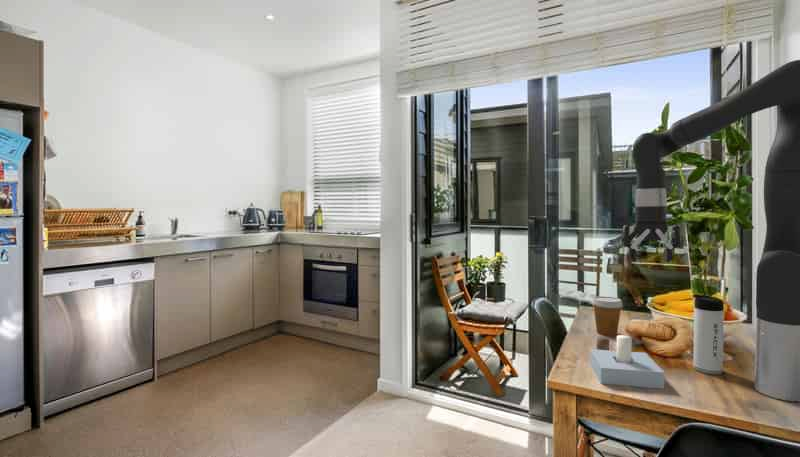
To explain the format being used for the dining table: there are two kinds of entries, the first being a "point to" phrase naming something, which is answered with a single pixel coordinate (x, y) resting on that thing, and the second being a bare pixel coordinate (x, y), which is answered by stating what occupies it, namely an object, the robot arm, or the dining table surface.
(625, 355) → the long pin
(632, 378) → the jig block
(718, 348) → the travel mug
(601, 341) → the short pin
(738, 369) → the dining table surface
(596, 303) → the disposable coffee cup
